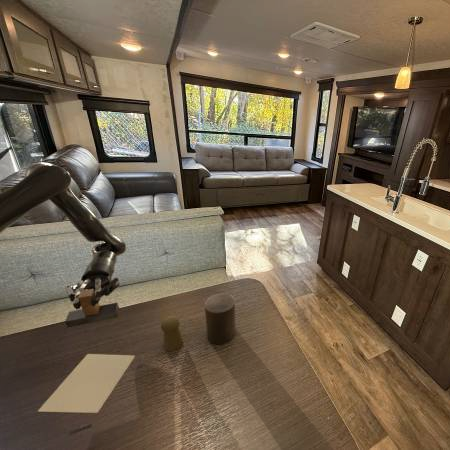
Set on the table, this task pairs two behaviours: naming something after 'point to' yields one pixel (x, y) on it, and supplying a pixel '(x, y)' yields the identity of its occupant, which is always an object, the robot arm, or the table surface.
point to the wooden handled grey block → (90, 311)
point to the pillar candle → (220, 318)
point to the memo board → (88, 384)
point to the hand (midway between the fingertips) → (85, 305)
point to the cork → (171, 334)
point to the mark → (80, 428)
